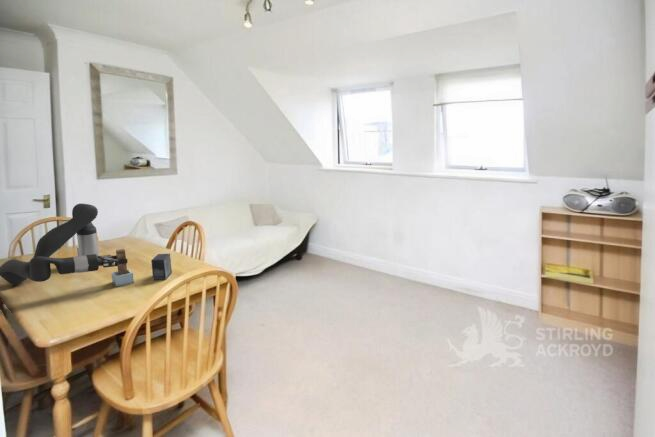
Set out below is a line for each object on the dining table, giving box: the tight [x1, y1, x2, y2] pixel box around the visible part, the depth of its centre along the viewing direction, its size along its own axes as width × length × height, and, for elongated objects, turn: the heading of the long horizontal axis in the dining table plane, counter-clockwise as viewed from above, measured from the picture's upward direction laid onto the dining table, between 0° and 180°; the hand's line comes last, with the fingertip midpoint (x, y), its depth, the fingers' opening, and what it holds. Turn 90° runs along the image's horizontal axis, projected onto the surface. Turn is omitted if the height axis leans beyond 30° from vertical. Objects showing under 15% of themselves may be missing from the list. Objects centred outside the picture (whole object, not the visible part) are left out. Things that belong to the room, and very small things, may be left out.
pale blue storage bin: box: [111, 268, 135, 288], centre depth 191 cm, size 8×8×5 cm
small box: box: [150, 253, 173, 281], centre depth 199 cm, size 11×6×10 cm, turn 5°
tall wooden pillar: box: [115, 248, 128, 275], centre depth 190 cm, size 3×3×15 cm
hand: (124, 258), depth 190 cm, fingers open, 8 cm apart
